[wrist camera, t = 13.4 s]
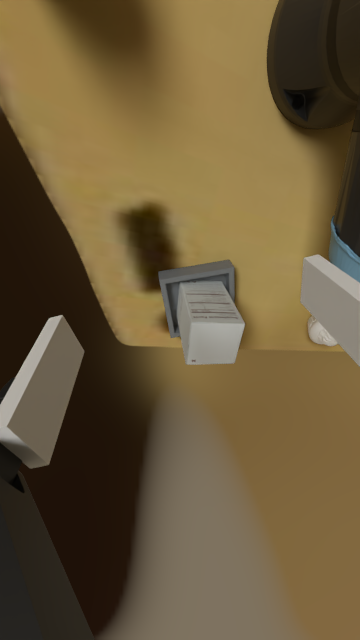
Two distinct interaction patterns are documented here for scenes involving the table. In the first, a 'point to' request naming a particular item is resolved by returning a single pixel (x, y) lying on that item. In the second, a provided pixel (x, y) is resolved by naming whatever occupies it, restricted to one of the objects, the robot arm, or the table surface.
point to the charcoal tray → (198, 272)
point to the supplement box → (208, 323)
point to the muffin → (319, 333)
